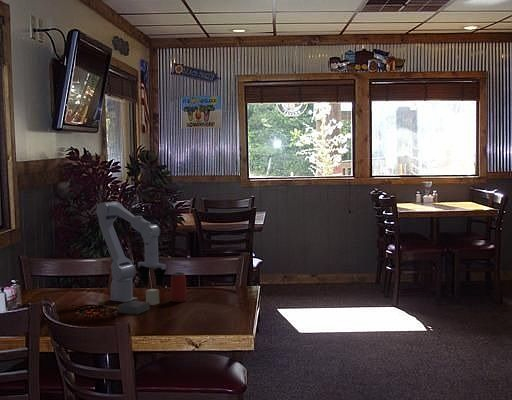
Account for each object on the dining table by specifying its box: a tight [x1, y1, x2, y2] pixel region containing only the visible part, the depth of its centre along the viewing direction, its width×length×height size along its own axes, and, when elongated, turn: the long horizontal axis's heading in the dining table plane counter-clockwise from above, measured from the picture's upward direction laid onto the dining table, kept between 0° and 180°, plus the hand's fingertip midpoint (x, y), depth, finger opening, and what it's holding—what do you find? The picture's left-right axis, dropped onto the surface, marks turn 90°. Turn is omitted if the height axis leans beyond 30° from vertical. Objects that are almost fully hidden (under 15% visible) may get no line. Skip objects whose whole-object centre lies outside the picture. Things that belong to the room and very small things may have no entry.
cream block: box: [145, 288, 160, 306], centre depth 291 cm, size 4×4×6 cm
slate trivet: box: [117, 300, 151, 315], centre depth 278 cm, size 9×9×3 cm
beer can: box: [170, 272, 187, 303], centre depth 296 cm, size 7×7×12 cm
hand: (152, 284), depth 291 cm, fingers open, 7 cm apart
